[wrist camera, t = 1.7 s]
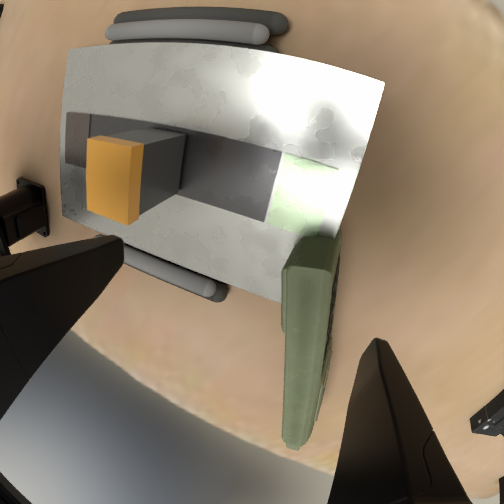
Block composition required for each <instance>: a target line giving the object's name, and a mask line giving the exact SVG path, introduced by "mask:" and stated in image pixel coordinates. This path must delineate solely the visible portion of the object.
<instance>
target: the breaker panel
mask: <svg viewBox="0 0 504 504" xmlns="http://www.w3.org/2000/svg"><path fill="white" fill-rule="evenodd" d="M383 87H384V82H381V81H378V80H375V79H372V78H369V77H367V76H364V75H361V74H357V73H354V72H351V71H348V70H344V69H341V68H338V67H334V66H330V65H327V64H323V63H319V62H315V61H311V60H307V59H303V58H298V57H293V56H289V55H284V54H278V53H273V52H267V51H261V50H255V49H248V48H240V47H232V46H223V45H212V44H197V43H172V42H148V43H124V44H110V45H99V46H90V47H82V48H75V49H69V53H68V59H67V65H66V72H65V80H64V89H63V99H62V112H61V130H60V182H61V201H62V214H63V216H64V217H66V218H69V219H71V220H73V221H75V222H78V223H80V224H82V225H84V226H87V227H89V228H91V229H93V230H96V231H98V232H100V233H103V234H105V235H107V236H108V235H116V236H118V237H120V238H122V239H123V241H124V243H126V244H129V245H131V246H134V247H136V248H138V249H141V250H143V251H146V252H148V253H151V254H153V255H155V256H158V257H160V258H163V259H165V260H168V261H170V262H173V263H175V264H178V265H180V266H183V267H185V268H188V269H190V270H193V271H196V272H198V273H201V274H203V275H206V276H209V277H211V278H214V279H216V280H219V281H222V282H224V283H227V284H230V285H232V286H235V287H237V288H240V289H243V290H246V291H248V292H251V293H254V294H256V295H259V296H262V297H265V298H267V299H270V300H273V301H276V302H278V303H281V270H282V269H283V267H284V265H285V263H286V261H287V259H288V257H289V255H290V253H291V251H292V249H293V248H294V246H295V245H296V244H297V243H299V241H300V239H301V238H303V237H317V236H329V237H333V238H334V239H335V237H336V234H337V231H338V229H339V226H340V223H341V220H342V218H343V215H344V212H345V209H346V207H347V204H348V201H349V198H350V195H351V192H352V189H353V186H354V183H355V181H356V178H357V175H358V171H359V168H360V165H361V162H362V159H363V156H364V153H365V150H366V146H367V143H368V140H369V137H370V133H371V130H372V127H373V123H374V120H375V116H376V113H377V109H378V106H379V102H380V98H381V95H382V91H383ZM146 127H150V128H155V129H161V130H166V131H171V132H176V133H181V134H186V139H185V145H184V152H183V159H182V166H181V174H180V182H179V190H178V193H177V194H175V195H174V196H172V197H170V198H168V199H167V200H165V201H163V202H161V203H160V204H158V205H156V206H155V207H153V208H151V209H150V210H148V211H146V212H145V213H143V214H141V215H140V216H139V219H138V220H136V221H135V222H133V223H132V224H130V225H128V226H127V225H124V224H122V223H119V222H117V221H114V220H112V219H109V218H106V217H104V216H101V215H99V214H96V213H94V212H91V211H88V210H87V191H86V162H87V138H91V137H95V136H99V135H101V136H109V135H113V134H117V133H122V132H126V131H131V130H136V129H141V128H146Z"/></svg>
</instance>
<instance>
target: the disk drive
mask: <svg viewBox="0 0 504 504" xmlns="http://www.w3.org/2000/svg"><path fill="white" fill-rule="evenodd" d="M470 424H471V430H472V433H477V434H484V435H489V436H497V435H499V434H502V435H503V436H504V389H503V390H502V391H501V392H500V393H499V394H498V395H497V396H496V397H495V398H494V399H492V400H491V401H490V402H489V403H488V404H487V405H486V406H484V407H483V408H482V409H481V410H479V411H478V412H477V413H476V414H475V415H473V416H472V417H471V418H470Z"/></svg>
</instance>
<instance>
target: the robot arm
mask: <svg viewBox="0 0 504 504" xmlns="http://www.w3.org/2000/svg"><path fill="white" fill-rule="evenodd" d="M16 182H17V189H16V190H13V191H11V192H9V193H7V194H5V195H3V196H1V197H0V420H1V418H2V417H3V416H4V414H5V413H6V411H7V410H8V409H9V407H10V406H11V404H12V403H13V401H14V400H15V399H16V397H17V396H18V395H19V393H20V392H21V391H22V389H23V388H24V386H25V385H26V384H27V382H28V381H29V379H30V378H31V377H32V376H33V374H34V373H35V372H36V371H37V369H38V368H39V366H40V365H41V364H42V363H43V362H44V360H45V359H46V358H47V357H48V355H49V354H50V353H51V352H52V350H53V349H54V348H55V347H56V345H57V344H58V343H59V342H60V341H61V339H62V338H63V337H64V336H65V334H66V333H67V332H68V331H69V330H70V329H71V328H72V326H73V325H74V324H75V323H76V322H77V321H78V319H79V318H80V317H81V316H82V315H83V314H84V313H85V311H86V310H87V309H88V308H89V307H90V306H91V305H92V304H93V302H94V301H95V300H96V299H97V298H98V297H99V295H100V294H101V293H102V292H103V290H104V289H105V288H106V286H107V285H108V284H109V282H110V281H111V280H112V278H113V277H114V276H115V274H116V273H117V272H118V270H119V269H120V268H121V266H122V265H123V263H124V241H123V239H122V238H120V237H118V236H116V235H108V236H102V237H97V238H92V239H86V240H81V241H76V242H71V243H65V244H60V245H55V246H50V247H45V248H41V249H36V250H31V251H26V252H23V253H17V254H12V255H11V253H10V250H9V247H10V246H11V245H13V244H15V243H16V242H18V241H19V240H22V239H24V238H26V237H27V236H29V235H31V234H32V233H34V232H37V233H39V234H41V235H42V236H44V237H47V236H49V229H48V222H47V213H46V203H45V191H44V188H43V186H41V185H38V184H36V183H33V182H30V181H28V180H25V179H23V178H18V179H17V181H16ZM8 246H9V247H8ZM0 504H32V503H31V502H30V501H29V500H27V499H26V498H25V497H24V496H23V495H22V494H21V493H20V492H19V491H18V490H17V489H16V488H15V487H14V486H13V485H12V484H11V483H10V482H9V481H8V480H7V479H6V478H5V477H4V476H3V474H2V473H1V472H0ZM327 504H473V503H472V502H471V501H470V499H469V498H468V496H467V494H466V492H465V490H464V488H463V487H462V485H461V483H460V481H459V479H458V477H457V475H456V474H455V472H454V470H453V468H452V466H451V464H450V462H449V461H448V459H447V457H446V455H445V453H444V451H443V449H442V447H441V445H440V443H439V441H438V438H437V436H436V434H435V432H434V431H433V428H432V426H431V424H430V422H429V420H428V418H427V415H426V413H425V411H424V409H423V407H422V405H421V403H420V401H419V399H418V397H417V395H416V394H415V392H414V390H413V388H412V386H411V384H410V382H409V380H408V378H407V376H406V374H405V373H404V371H403V369H402V367H401V365H400V363H399V361H398V360H397V358H396V356H395V354H394V352H393V351H392V349H391V347H390V345H389V343H388V342H387V341H385V340H382V339H379V338H374V339H373V340H372V341H371V343H370V344H369V346H368V347H367V349H366V350H365V352H364V353H363V355H362V356H361V359H360V361H359V365H358V370H357V374H356V378H355V382H354V385H353V389H352V393H351V397H350V400H349V405H348V410H347V416H346V422H345V427H344V433H343V438H342V443H341V448H340V453H339V458H338V462H337V467H336V471H335V476H334V480H333V484H332V488H331V492H330V496H329V499H328V503H327Z"/></svg>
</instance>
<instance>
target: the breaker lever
mask: <svg viewBox="0 0 504 504" xmlns="http://www.w3.org/2000/svg"><path fill="white" fill-rule="evenodd" d="M185 139H186V134H181V133H176V132H171V131H166V130H161V129H155V128H150V127H146V128H141V129H136V130H131V131H126V132H122V133H117V134H113V135H109V136H101V135H99V136H95V137H91V138H87V162H86V191H87V210H88V211H91V212H94V213H96V214H99V215H101V216H104V217H106V218H109V219H112V220H114V221H117V222H119V223H122V224H124V225H127V226H128V225H130V224H132V223H133V222H135V221H136V220H138V219H139V216H140V215H141V214H143V213H145V212H146V211H148V210H150V209H151V208H153V207H155V206H156V205H158V204H160V203H161V202H163V201H165V200H167V199H168V198H170V197H172V196H174V195H175V194H177V193H178V190H179V182H180V174H181V166H182V159H183V152H184V145H185Z"/></svg>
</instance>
